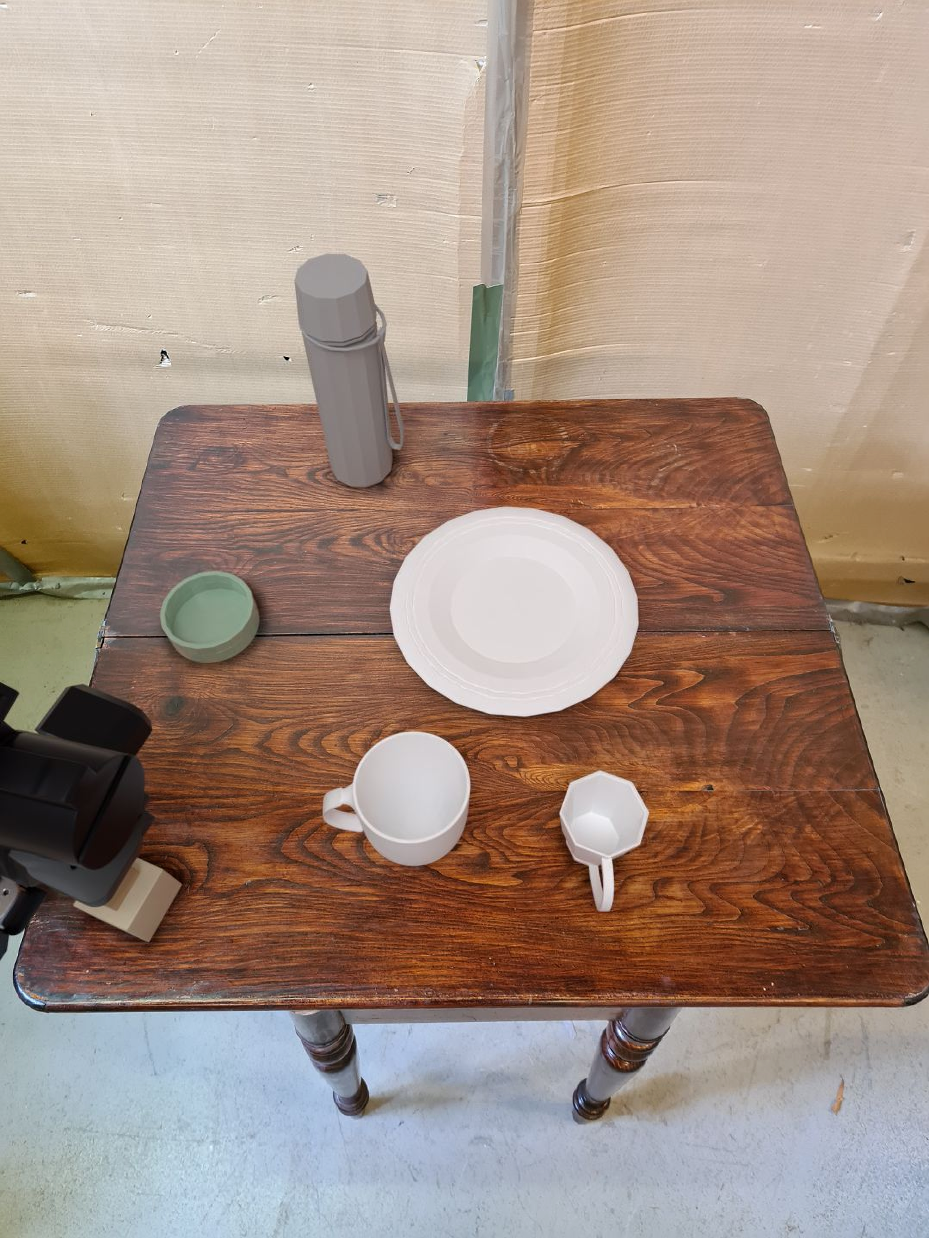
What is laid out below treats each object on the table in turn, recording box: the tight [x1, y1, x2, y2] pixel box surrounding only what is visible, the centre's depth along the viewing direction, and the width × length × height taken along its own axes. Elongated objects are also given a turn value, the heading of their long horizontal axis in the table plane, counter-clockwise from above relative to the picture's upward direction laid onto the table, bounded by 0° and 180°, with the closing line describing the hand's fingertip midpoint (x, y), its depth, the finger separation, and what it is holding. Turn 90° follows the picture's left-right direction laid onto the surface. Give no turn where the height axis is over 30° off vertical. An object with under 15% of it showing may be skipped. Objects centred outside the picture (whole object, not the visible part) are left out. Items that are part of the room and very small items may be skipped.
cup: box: [558, 769, 650, 912], centre depth 65 cm, size 7×10×8 cm
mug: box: [322, 730, 471, 867], centre depth 64 cm, size 12×9×12 cm
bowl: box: [159, 570, 260, 664], centre depth 79 cm, size 9×9×3 cm
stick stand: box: [73, 857, 183, 943], centre depth 64 cm, size 5×5×5 cm
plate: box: [389, 506, 640, 718], centre depth 80 cm, size 25×25×2 cm
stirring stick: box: [103, 866, 140, 911], centre depth 58 cm, size 2×3×10 cm, turn 158°
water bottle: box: [294, 253, 405, 488], centre depth 81 cm, size 9×8×25 cm
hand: (80, 863), depth 56 cm, fingers open, 4 cm apart
